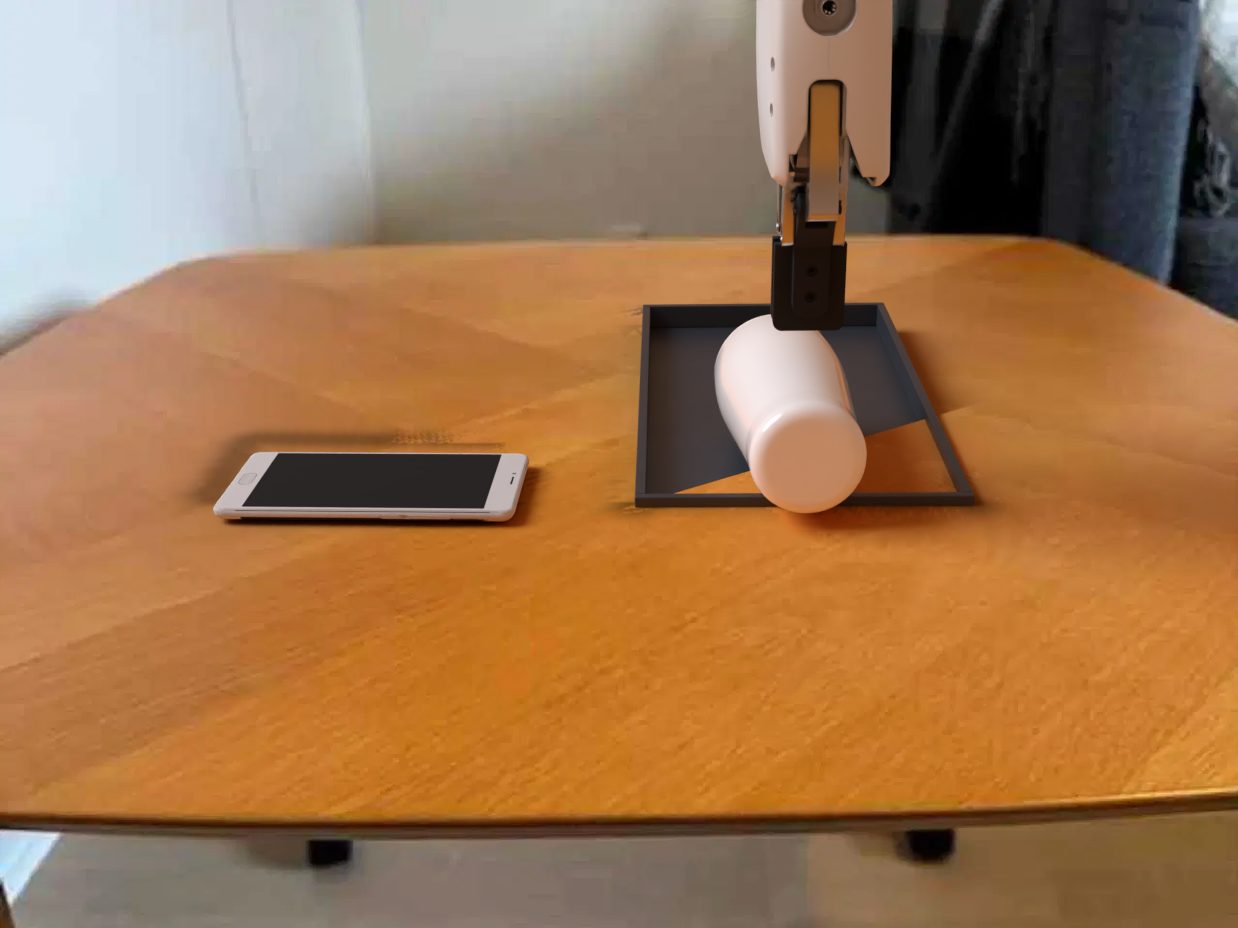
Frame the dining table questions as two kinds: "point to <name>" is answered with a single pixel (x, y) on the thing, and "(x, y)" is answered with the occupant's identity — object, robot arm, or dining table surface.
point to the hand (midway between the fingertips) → (806, 324)
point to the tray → (697, 435)
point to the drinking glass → (790, 415)
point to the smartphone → (375, 486)
